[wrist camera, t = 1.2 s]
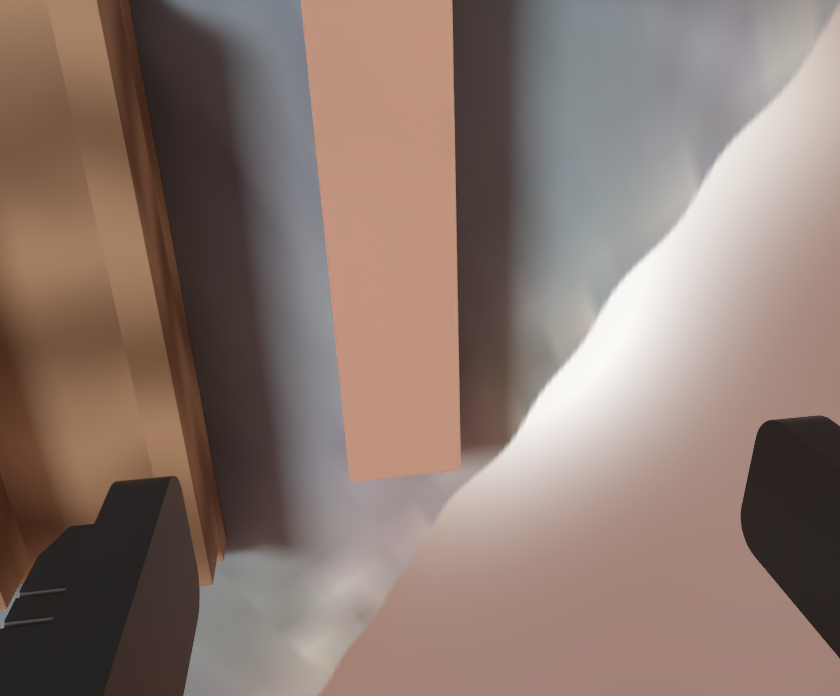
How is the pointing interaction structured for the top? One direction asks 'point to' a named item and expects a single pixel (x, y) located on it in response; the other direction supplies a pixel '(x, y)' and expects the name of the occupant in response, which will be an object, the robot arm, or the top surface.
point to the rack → (87, 290)
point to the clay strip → (389, 226)
